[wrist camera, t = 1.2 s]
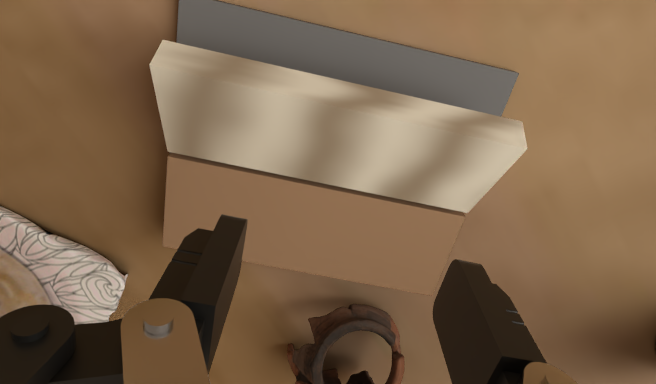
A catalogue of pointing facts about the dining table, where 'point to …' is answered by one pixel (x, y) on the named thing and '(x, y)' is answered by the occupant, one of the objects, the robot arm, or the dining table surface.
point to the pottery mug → (333, 327)
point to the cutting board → (313, 197)
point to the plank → (329, 129)
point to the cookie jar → (54, 272)
